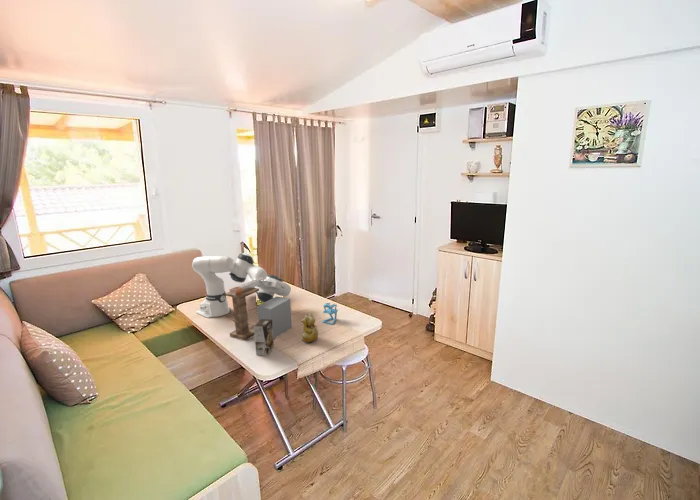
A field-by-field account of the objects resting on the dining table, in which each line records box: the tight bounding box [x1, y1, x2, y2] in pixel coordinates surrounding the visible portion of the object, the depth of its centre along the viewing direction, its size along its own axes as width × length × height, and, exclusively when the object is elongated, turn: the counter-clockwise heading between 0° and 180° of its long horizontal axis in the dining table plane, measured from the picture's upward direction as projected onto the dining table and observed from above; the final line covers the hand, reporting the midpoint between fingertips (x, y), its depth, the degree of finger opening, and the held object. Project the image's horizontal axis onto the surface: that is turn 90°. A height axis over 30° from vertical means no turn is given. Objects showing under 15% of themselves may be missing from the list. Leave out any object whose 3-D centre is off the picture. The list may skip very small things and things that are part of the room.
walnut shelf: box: [225, 288, 259, 342], centre depth 202 cm, size 12×14×26 cm
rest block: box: [256, 296, 293, 339], centre depth 205 cm, size 10×17×18 cm, turn 152°
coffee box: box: [253, 319, 275, 356], centre depth 183 cm, size 9×6×16 cm
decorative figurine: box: [300, 312, 319, 344], centre depth 193 cm, size 10×8×15 cm
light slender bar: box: [229, 277, 265, 296], centre depth 203 cm, size 4×24×3 cm, turn 152°
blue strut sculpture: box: [321, 302, 339, 326], centre depth 217 cm, size 8×8×12 cm
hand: (258, 280), depth 211 cm, fingers closed on light slender bar, 3 cm apart
